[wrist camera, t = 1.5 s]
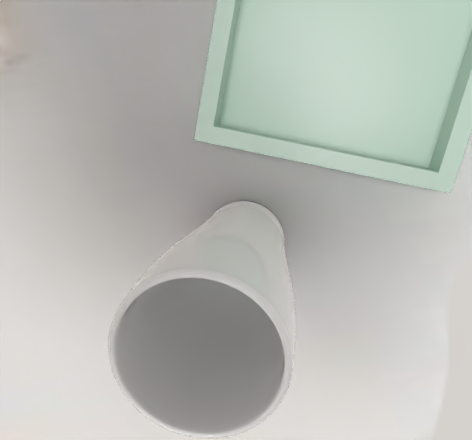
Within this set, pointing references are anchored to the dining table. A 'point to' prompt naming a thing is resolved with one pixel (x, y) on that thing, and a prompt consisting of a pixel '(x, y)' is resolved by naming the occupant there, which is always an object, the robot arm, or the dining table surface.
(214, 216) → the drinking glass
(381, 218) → the dining table surface
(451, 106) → the tray
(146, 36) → the dining table surface
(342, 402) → the dining table surface
